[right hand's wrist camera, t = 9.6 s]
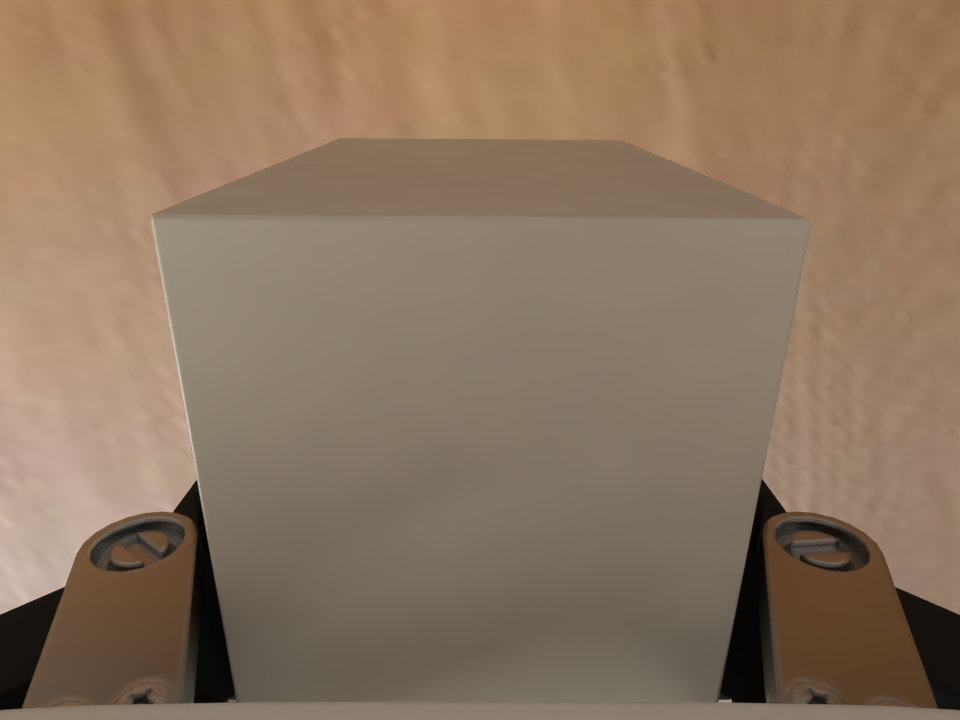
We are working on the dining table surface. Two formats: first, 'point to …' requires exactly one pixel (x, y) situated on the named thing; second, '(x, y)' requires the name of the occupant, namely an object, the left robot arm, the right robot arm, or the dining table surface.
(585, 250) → the bar
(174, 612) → the right robot arm
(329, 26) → the dining table surface
